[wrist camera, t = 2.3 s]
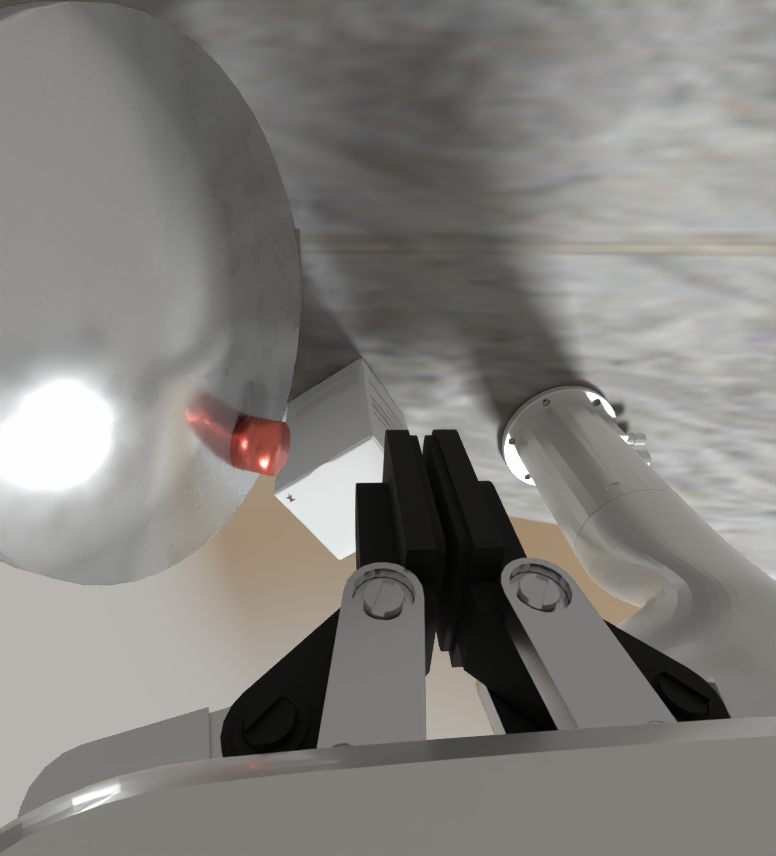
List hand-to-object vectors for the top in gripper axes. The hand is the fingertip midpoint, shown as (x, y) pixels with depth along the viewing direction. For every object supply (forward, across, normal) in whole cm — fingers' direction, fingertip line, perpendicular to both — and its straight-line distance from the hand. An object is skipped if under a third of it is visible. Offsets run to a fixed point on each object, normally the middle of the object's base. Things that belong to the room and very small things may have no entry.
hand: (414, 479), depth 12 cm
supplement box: (+33, +1, +16) cm, 37 cm away
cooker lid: (+10, +10, 0) cm, 14 cm away
